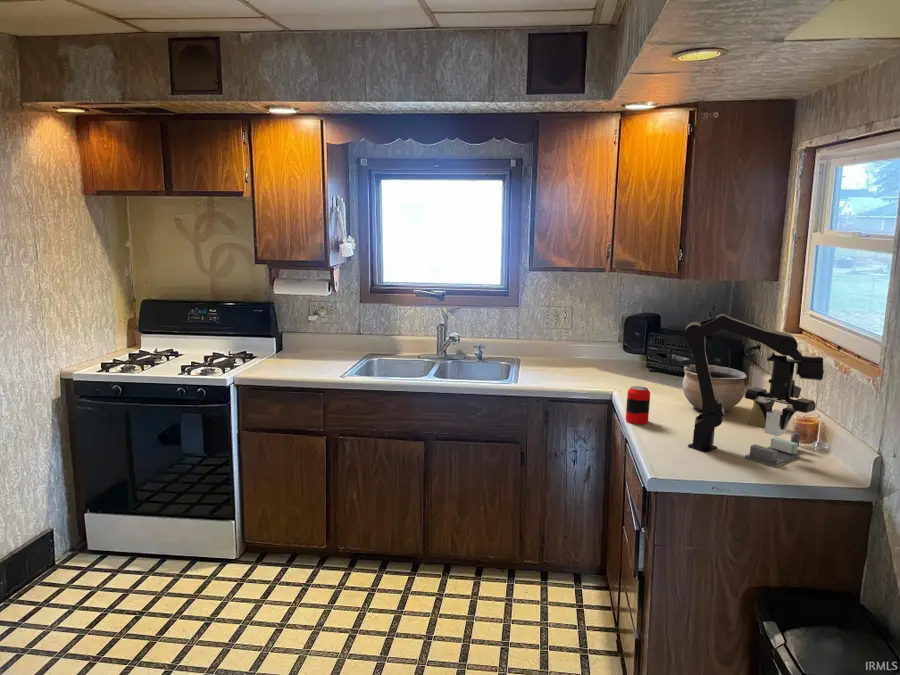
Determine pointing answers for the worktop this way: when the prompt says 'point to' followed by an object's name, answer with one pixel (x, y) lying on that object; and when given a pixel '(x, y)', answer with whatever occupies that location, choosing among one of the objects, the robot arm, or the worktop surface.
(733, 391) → the ceramic bowl
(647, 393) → the soda can
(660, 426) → the worktop surface
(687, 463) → the worktop surface
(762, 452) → the base
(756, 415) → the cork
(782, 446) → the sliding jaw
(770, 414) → the steel block
